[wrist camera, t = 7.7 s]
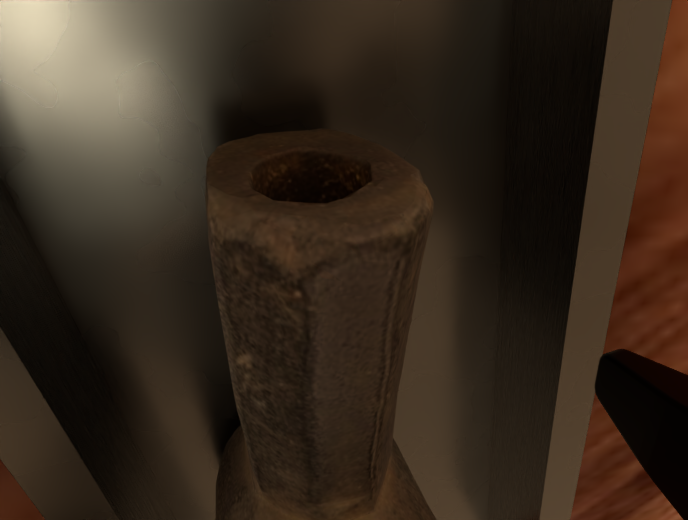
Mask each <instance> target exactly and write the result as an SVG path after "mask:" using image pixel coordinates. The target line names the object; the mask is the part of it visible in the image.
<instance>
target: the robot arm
mask: <svg viewBox="0 0 688 520" xmlns="http://www.w3.org/2000/svg"><path fill="white" fill-rule="evenodd" d="M594 387H595V392H596V395H597V397H598V399H599V401H600V402H601V404H602V405H603V407H604V408H605V410H606V412H607V413H608V415H609V416H610V418H611V419H612V421H613V422H614V424H615V425H616V427H617V429H618V430H619V432H620V433H621V435H622V436H623V438H624V439H625V441H626V442H627V444H628V446H629V447H630V449H631V450H632V452H633V453H634V455H635V456H636V458H637V459H638V461H639V462H640V464H641V465H642V467H643V468H644V470H645V471H646V472H647V474H648V475H649V476H650V478H651V479H652V480H653V482H654V483H655V484H656V485H657V487H658V488H659V489H660V490H661V492H662V493H663V494H664V496H665V497H666V498H667V499H668V501H669V502H670V503H671V504H672V506H673V507H674V508H675V509H676V511H677V512H678V513H679V514H680V516H681V517H682V518H683V519H684V520H688V375H686V374H684V373H681V372H679V371H677V370H674V369H672V368H669V367H667V366H665V365H662V364H660V363H657V362H655V361H653V360H650V359H648V358H645V357H643V356H641V355H638V354H636V353H633V352H631V351H629V350H625V349H618V350H615V351H612V352H609V353H606V354H603V355H602V356H601V357H600V360H599V364H598V369H597V374H596V379H595V385H594Z"/></svg>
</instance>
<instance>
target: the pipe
mask: <svg viewBox="0 0 688 520" xmlns="http://www.w3.org/2000/svg"><path fill="white" fill-rule="evenodd" d="M205 202H206V215H207V228H208V241H209V249H210V255H211V261H212V268H213V274H214V280H215V287H216V293H217V299H218V305H219V310H220V316H221V322H222V327H223V333H224V339H225V345H226V350H227V356H228V362H229V368H230V374H231V381H232V387H233V392H234V397H235V403H236V408H237V412H238V416H239V419H240V423H241V425H240V426H239V427H238V428H237V429H236V430H235V431H234V433H233V434H232V436H231V437H230V439H229V440H228V442H227V444H226V446H225V449H224V452H223V456H222V459H221V462H220V466H219V470H218V475H217V480H216V517H215V520H437V519H436V518H435V516H434V514H433V513H432V511H431V509H430V507H429V506H428V504H427V502H426V500H425V498H424V496H423V494H422V492H421V490H420V488H419V486H418V484H417V483H416V481H415V479H414V477H413V475H412V473H411V471H410V469H409V467H408V465H407V463H406V461H405V459H404V457H403V455H402V453H401V451H400V449H399V447H398V445H397V443H396V442H395V440H394V438H393V431H394V422H395V414H396V404H397V395H398V389H399V384H400V379H401V374H402V369H403V363H404V357H405V351H406V345H407V339H408V333H409V329H410V325H411V321H412V314H413V308H414V302H415V297H416V292H417V286H418V280H419V275H420V270H421V265H422V261H423V256H424V251H425V247H426V242H427V238H428V233H429V229H430V225H431V220H432V216H433V202H434V201H433V199H432V197H431V195H430V192H429V190H428V188H427V186H426V185H425V183H424V181H423V178H422V176H421V173H420V171H419V169H417V168H416V167H414V166H413V165H411V164H410V163H408V162H407V161H405V160H404V159H402V158H401V157H399V156H398V155H396V154H395V153H393V152H392V151H390V150H388V149H386V148H385V147H383V146H381V145H380V144H377V143H374V142H371V141H368V140H366V139H363V138H361V137H358V136H355V135H352V134H349V133H346V132H341V131H336V130H332V129H321V128H320V129H312V130H301V131H287V132H275V133H263V134H256V135H254V136H250V137H246V138H241V139H237V140H233V141H229V142H227V143H224V144H222V145H220V146H218V147H217V148H216V150H215V151H214V152H213V153H212V154H211V156H210V157H209V158H208V161H207V166H206V187H205Z"/></svg>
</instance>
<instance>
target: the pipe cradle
mask: <svg viewBox="0 0 688 520" xmlns="http://www.w3.org/2000/svg"><path fill="white" fill-rule="evenodd" d="M671 3H672V0H0V459H1V461H2V462H3V463H4V465H5V466H6V467H7V469H8V470H9V471H10V473H11V474H12V475H13V477H14V478H15V479H16V481H17V482H18V483H19V485H20V486H21V487H22V489H23V490H24V491H25V493H26V494H27V495H28V497H29V498H30V499H31V501H32V502H33V503H34V505H35V506H36V507H37V509H38V510H39V512H40V513H41V514H42V516H43V517H44V518H45V520H215V517H216V480H217V475H218V470H219V466H220V462H221V459H222V456H223V452H224V449H225V446H226V444H227V442H228V440H229V439H230V437H231V436H232V434H233V433H234V431H235V430H236V429H237V428H238V427H239V426H240V425H241V423H240V419H239V416H238V412H237V408H236V403H235V397H234V392H233V387H232V381H231V374H230V368H229V362H228V356H227V350H226V345H225V339H224V333H223V327H222V322H221V316H220V310H219V305H218V299H217V293H216V287H215V280H214V274H213V268H212V261H211V255H210V249H209V241H208V228H207V215H206V202H205V187H206V166H207V161H208V158H209V157H210V156H211V154H212V153H213V152H214V151H215V150H216V148H217V147H218V146H220V145H222V144H224V143H227V142H229V141H233V140H237V139H241V138H246V137H250V136H254V135H256V134H263V133H275V132H287V131H301V130H312V129H320V128H321V129H332V130H336V131H341V132H346V133H349V134H352V135H355V136H358V137H361V138H363V139H366V140H368V141H371V142H374V143H377V144H380V145H381V146H383V147H385V148H386V149H388V150H390V151H392V152H393V153H395V154H396V155H398V156H399V157H401V158H402V159H404V160H405V161H407V162H408V163H410V164H411V165H413V166H414V167H416V168H417V169H419V171H420V173H421V176H422V178H423V181H424V183H425V185H426V186H427V188H428V190H429V192H430V195H431V197H432V199H433V201H434V202H433V216H432V220H431V225H430V229H429V233H428V238H427V242H426V247H425V251H424V256H423V261H422V265H421V270H420V275H419V280H418V286H417V292H416V297H415V302H414V308H413V314H412V321H411V325H410V329H409V333H408V339H407V345H406V351H405V357H404V363H403V369H402V374H401V379H400V384H399V389H398V395H397V404H396V414H395V422H394V431H393V438H394V440H395V442H396V443H397V445H398V447H399V449H400V451H401V453H402V455H403V457H404V459H405V461H406V463H407V465H408V467H409V469H410V471H411V473H412V475H413V477H414V479H415V481H416V483H417V484H418V486H419V488H420V490H421V492H422V494H423V496H424V498H425V500H426V502H427V504H428V506H429V507H430V509H431V511H432V513H433V514H434V516H435V518H436V519H437V520H570V517H571V512H572V507H573V502H574V497H575V491H576V486H577V481H578V476H579V471H580V466H581V461H582V456H583V451H584V446H585V441H586V436H587V430H588V425H589V420H590V415H591V410H592V405H593V400H594V395H595V387H594V385H595V379H596V374H597V369H598V364H599V360H600V357H601V356H602V354H603V349H604V344H605V339H606V334H607V329H608V324H609V319H610V314H611V308H612V303H613V298H614V293H615V288H616V283H617V278H618V273H619V268H620V263H621V258H622V253H623V247H624V242H625V237H626V232H627V227H628V222H629V217H630V212H631V207H632V202H633V197H634V192H635V186H636V181H637V176H638V171H639V166H640V161H641V156H642V151H643V146H644V141H645V136H646V131H647V125H648V120H649V115H650V110H651V105H652V100H653V95H654V90H655V85H656V80H657V75H658V70H659V64H660V59H661V54H662V49H663V44H664V39H665V34H666V29H667V24H668V19H669V14H670V9H671Z"/></svg>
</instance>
